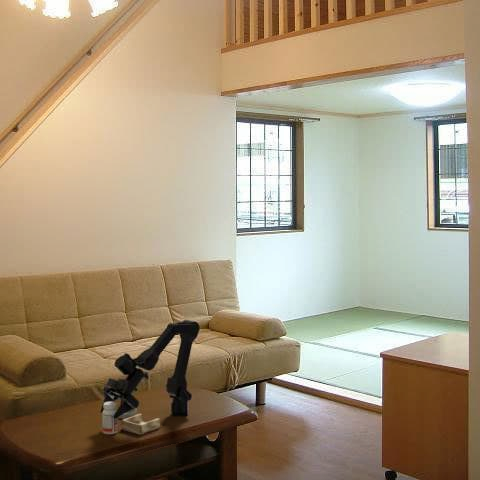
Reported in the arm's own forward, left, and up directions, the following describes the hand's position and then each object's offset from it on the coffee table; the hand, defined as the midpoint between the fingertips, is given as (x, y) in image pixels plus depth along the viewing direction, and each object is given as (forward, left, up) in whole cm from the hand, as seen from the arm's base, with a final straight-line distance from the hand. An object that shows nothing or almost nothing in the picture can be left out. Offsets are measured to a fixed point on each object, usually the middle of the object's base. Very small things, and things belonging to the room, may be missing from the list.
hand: (107, 415), depth 260 cm
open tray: (-12, -5, -7) cm, 15 cm away
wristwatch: (-4, -19, -7) cm, 21 cm away
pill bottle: (-1, -1, -7) cm, 7 cm away
